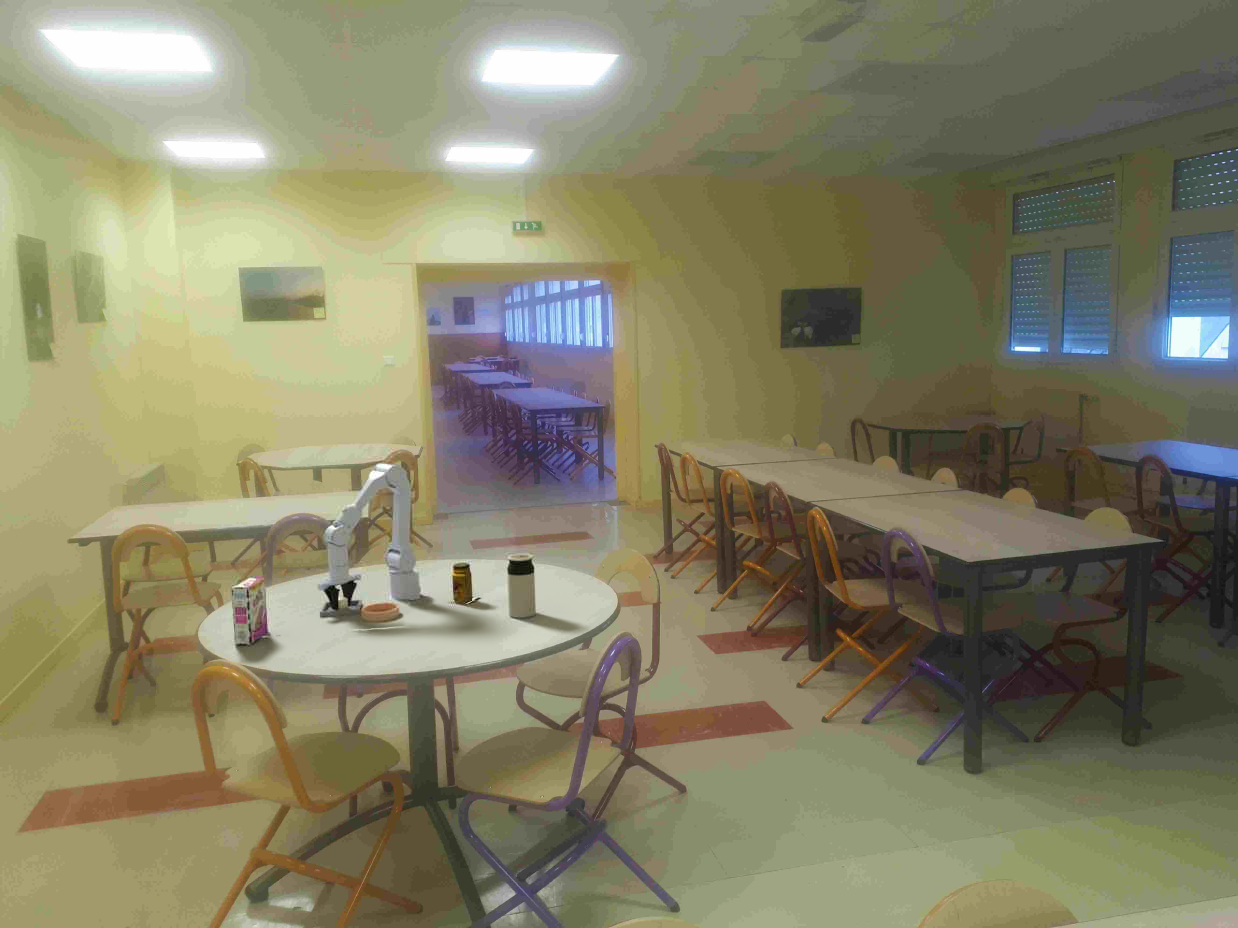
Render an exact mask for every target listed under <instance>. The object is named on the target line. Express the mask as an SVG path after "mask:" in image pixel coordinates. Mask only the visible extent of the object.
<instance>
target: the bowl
mask: <svg viewBox="0 0 1238 928" xmlns="http://www.w3.org/2000/svg"><path fill="white" fill-rule="evenodd" d="M360 612H361V619H362V620H365V621H369V622H383V621H384V622H385V621H389V620H393V619H395V618H397V617H399V616H400V614H401V613H400V612H401V611H400V604H398V603H395V602H375V603H371V604H367V605H365V606H363V607H362V608H361V609H360Z"/></svg>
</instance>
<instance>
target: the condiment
mask: <svg viewBox="0 0 1238 928" xmlns="http://www.w3.org/2000/svg"><path fill="white" fill-rule="evenodd" d="M452 568H453V569H452V574H451V575H452V576H451V578H452V593H453V594H452V598H453V600H454V603H453V602H452V603H451V602H450V601H449V602H448V603H449V604H454V605H455V604H456V603H468V602H470V601H472V598H473V597H474V596H473V579H472V577H473V576H472V572H471V565H470V564H469V563H467V562H458V563H455V564H453V566H452ZM456 605H457V604H456Z"/></svg>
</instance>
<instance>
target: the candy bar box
mask: <svg viewBox="0 0 1238 928" xmlns="http://www.w3.org/2000/svg"><path fill="white" fill-rule="evenodd" d="M265 579H266V578H265V577H249V578H246V579H245V580H243V581H241V582H240V583H238V584H235V585H234V586H232V587H231V601H232V616H233V617H232V619H233V634H234V636H233V637H234V645H235V646H252V645H254V644H255V643H256V642H257V641H258V640H260V639H261V638H263V637H264V636H265V634H266V633H267V632H268V631H269V628H268V627H269V626H268V613H267V611H268V610H267V595H266V594H267V593H266V580H265Z"/></svg>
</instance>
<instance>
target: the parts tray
mask: <svg viewBox="0 0 1238 928" xmlns="http://www.w3.org/2000/svg"><path fill="white" fill-rule="evenodd" d="M362 605H363V600H362V599H352V600H351V605H350V606H349V607H348V610H338V611H335V610H333V609H332V607H331V604H330V601H325V602H324V604H323V606H322V607H321V610H320V611H319V617H320V618H323V617H327V618H328V617H337V616H338V617H339V616H340V617H341V616H352V615H355V616H356V615H359V613H360V611H361V609H362V608H361V607H362Z"/></svg>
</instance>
